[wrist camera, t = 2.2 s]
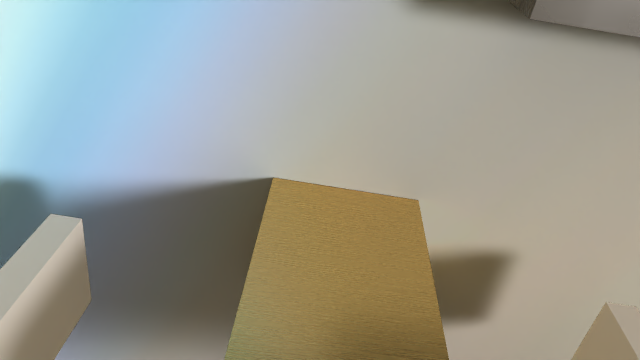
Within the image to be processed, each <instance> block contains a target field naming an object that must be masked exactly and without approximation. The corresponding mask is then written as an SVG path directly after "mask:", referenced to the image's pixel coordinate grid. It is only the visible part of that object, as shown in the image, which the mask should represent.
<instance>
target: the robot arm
mask: <svg viewBox="0 0 640 360" xmlns="http://www.w3.org/2000/svg"><path fill="white" fill-rule="evenodd" d="M90 302H91V292H90V283H89V275H88V266H87V258H86V249H85V241H84V232H83V224H82V219H80V218H74V217H68V216H61V215H55V214H50V215H49V216H48V217H47V218H46V220H45V221H44V222H43V223H42V224H41V225H40V226H39V227H38V228H37V229H36V231H35V232H34V233H33V234H32V235H31V236H30V237H29V238H28V239H27V241H26V242H25V243H24V244H23V245H22V246H21V247H20V248H19V249H18V250H17V252H16V253H15V254H14V255H13V256H12V257H11V258H10V259H9V260H8V261H7V263H6V264H5V265H4V266H3V267H2V268H1V269H0V360H54V359H55V357H56V356H57V354H58V353H59V351H60V349H61V348H62V346H63V345H64V343H65V342H66V340H67V338H68V337H69V335H70V334H71V332H72V330H73V329H74V327H75V326H76V324H77V322H78V321H79V319H80V318H81V316H82V314H83V313H84V311H85V310H86V308H87V307H88V305H89V303H90ZM571 360H640V312H639V311H638V309H637V307H635V306H629V305H623V304H616V303H610V302H606V303H605V304H604V306H603V308H602V309H601V311H600V313H599V314H598V316H597V318H596V319H595V321H594V323H593V324H592V326H591V328H590V329H589V331H588V333H587V334H586V336H585V338H584V339H583V341H582V343H581V344H580V346H579V348H578V349H577V351H576V353H575V354H574V356H573V358H572V359H571Z"/></svg>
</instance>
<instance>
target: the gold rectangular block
mask: <svg viewBox="0 0 640 360" xmlns="http://www.w3.org/2000/svg"><path fill="white" fill-rule="evenodd" d="M224 360H449V358H448V352H447V347H446V342H445V337H444V332H443V326H442V321H441V316H440V311H439V305H438V300H437V295H436V290H435V285H434V279H433V274H432V269H431V264H430V259H429V253H428V248H427V243H426V238H425V233H424V227H423V222H422V217H421V212H420V207H419V201H418V200H413V199H406V198H400V197H394V196H387V195H381V194H374V193H368V192H362V191H355V190H349V189H342V188H336V187H330V186H323V185H317V184H311V183H304V182H298V181H291V180H285V179H279V178H273V181H272V184H271V188H270V192H269V195H268V199H267V203H266V207H265V210H264V214H263V218H262V221H261V225H260V229H259V233H258V236H257V240H256V244H255V247H254V251H253V255H252V259H251V262H250V266H249V270H248V274H247V277H246V281H245V285H244V288H243V292H242V296H241V300H240V303H239V307H238V311H237V314H236V318H235V322H234V326H233V329H232V333H231V337H230V340H229V344H228V348H227V352H226V355H225V359H224Z"/></svg>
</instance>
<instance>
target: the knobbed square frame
mask: <svg viewBox="0 0 640 360" xmlns="http://www.w3.org/2000/svg"><path fill="white" fill-rule="evenodd" d="M508 1H509V2H510V3H512V4H513V5H514V6H515V7H516V8H517V9H519V10H520V11H521V12H522V13H523V14H525V15H526V16H527V17H528V18H529V19H533V20H539V21H545V22H551V23H557V24H563V25H569V26H575V27H581V28H587V29H593V30H599V31H605V32H611V33H617V34H623V35H629V36H635V37H640V0H508Z"/></svg>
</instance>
